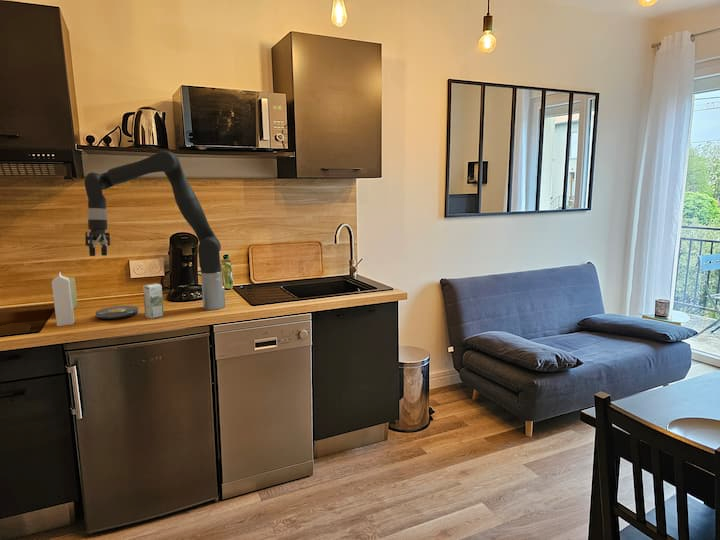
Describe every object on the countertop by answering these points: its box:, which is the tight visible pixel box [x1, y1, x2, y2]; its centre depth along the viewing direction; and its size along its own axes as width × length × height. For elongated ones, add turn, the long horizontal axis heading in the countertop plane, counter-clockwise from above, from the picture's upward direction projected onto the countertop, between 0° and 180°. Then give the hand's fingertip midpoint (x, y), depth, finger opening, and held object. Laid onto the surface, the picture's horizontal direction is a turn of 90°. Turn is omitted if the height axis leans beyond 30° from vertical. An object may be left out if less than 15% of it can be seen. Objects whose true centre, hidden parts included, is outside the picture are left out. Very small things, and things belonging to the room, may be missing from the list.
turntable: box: [95, 305, 139, 320], centre depth 216 cm, size 17×17×2 cm
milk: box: [51, 271, 75, 327], centre depth 204 cm, size 6×6×22 cm
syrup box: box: [142, 282, 165, 320], centre depth 213 cm, size 6×6×14 cm
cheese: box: [50, 276, 78, 310], centre depth 223 cm, size 22×10×15 cm, turn 28°
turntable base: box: [105, 316, 131, 321], centre depth 217 cm, size 12×12×1 cm
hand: (98, 255), depth 216 cm, fingers open, 8 cm apart
